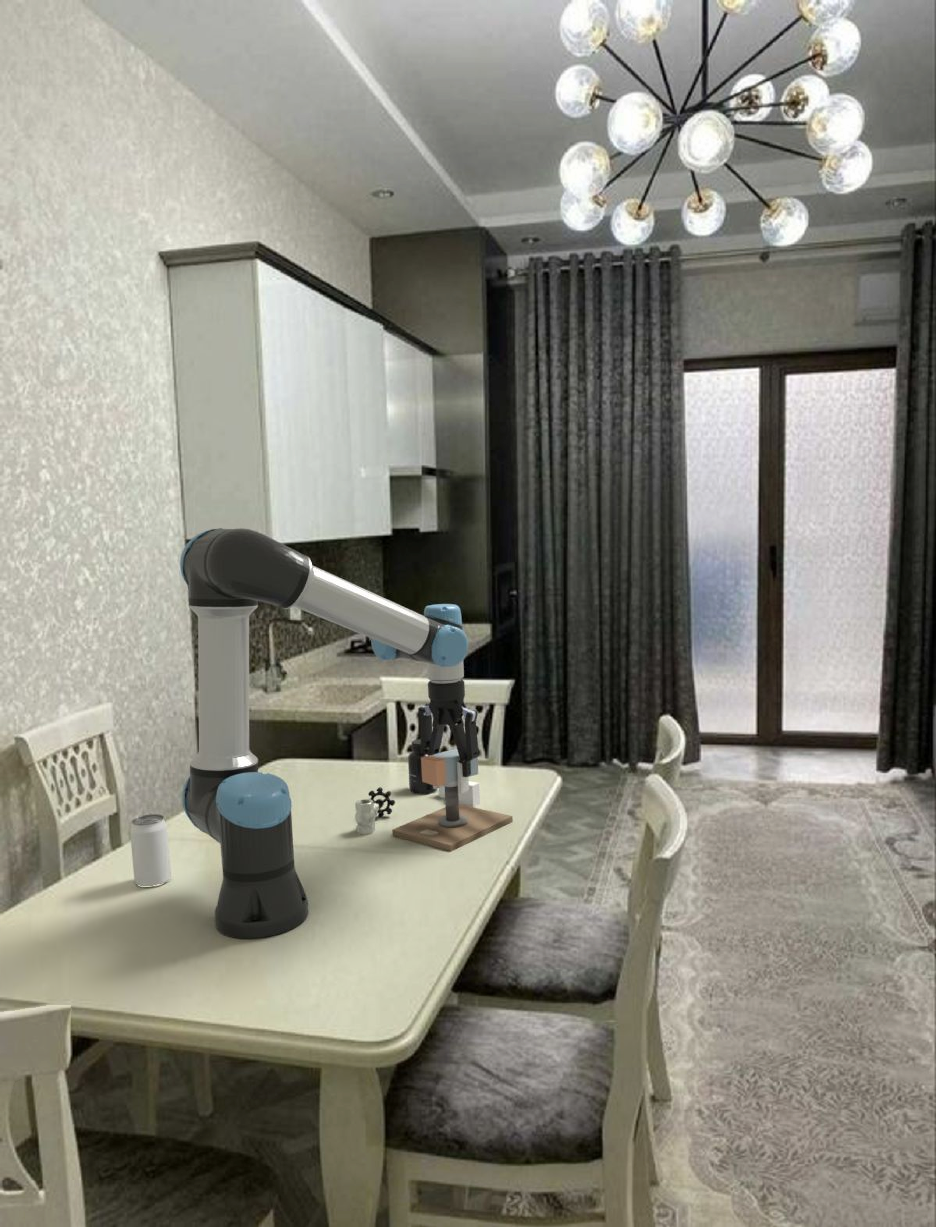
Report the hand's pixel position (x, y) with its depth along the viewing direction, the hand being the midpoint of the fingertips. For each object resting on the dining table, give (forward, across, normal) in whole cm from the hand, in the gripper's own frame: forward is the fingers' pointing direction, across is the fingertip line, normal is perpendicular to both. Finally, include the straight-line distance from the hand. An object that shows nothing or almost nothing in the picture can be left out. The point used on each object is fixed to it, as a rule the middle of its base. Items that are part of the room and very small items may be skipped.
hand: (451, 789), depth 189 cm
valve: (+9, +17, +6) cm, 20 cm away
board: (+8, 0, 0) cm, 8 cm away
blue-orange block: (-1, 0, 0) cm, 1 cm away
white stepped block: (+9, +10, -16) cm, 21 cm away
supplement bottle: (+9, +22, -18) cm, 29 cm away
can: (+9, +33, +49) cm, 60 cm away
